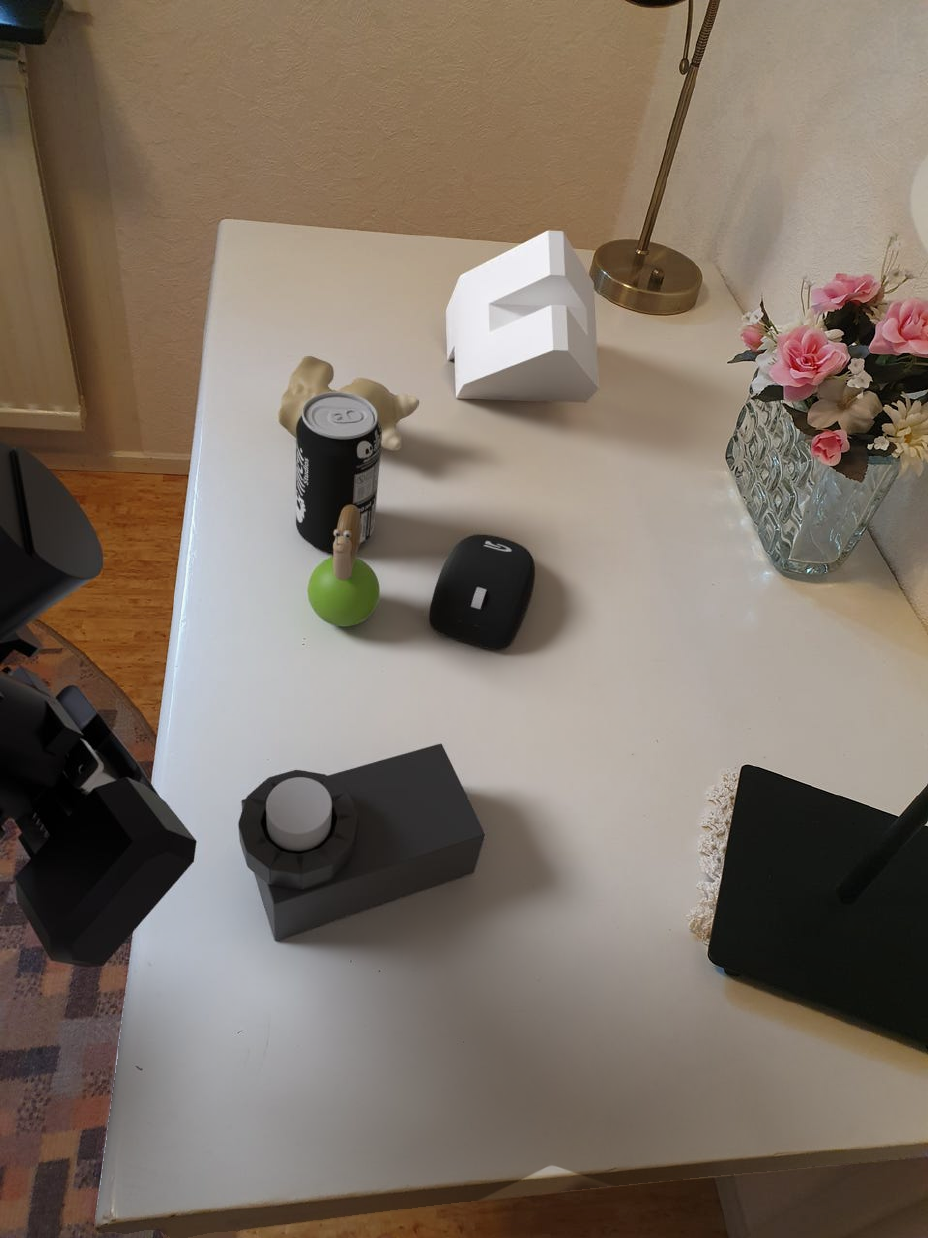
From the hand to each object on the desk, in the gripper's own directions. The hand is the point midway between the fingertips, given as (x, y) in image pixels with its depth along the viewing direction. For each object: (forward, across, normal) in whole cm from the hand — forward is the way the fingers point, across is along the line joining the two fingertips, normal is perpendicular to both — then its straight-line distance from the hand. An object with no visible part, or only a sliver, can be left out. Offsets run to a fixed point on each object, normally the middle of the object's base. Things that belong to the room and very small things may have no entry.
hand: (160, 816), depth 47 cm
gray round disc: (+8, +1, +3) cm, 9 cm away
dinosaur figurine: (+23, -34, +27) cm, 49 cm away
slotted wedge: (+34, -32, +44) cm, 64 cm away
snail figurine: (+19, -16, +14) cm, 28 cm away
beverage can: (+20, -24, +19) cm, 37 cm away
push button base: (+16, +1, +3) cm, 16 cm away
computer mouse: (+25, -12, +23) cm, 36 cm away
